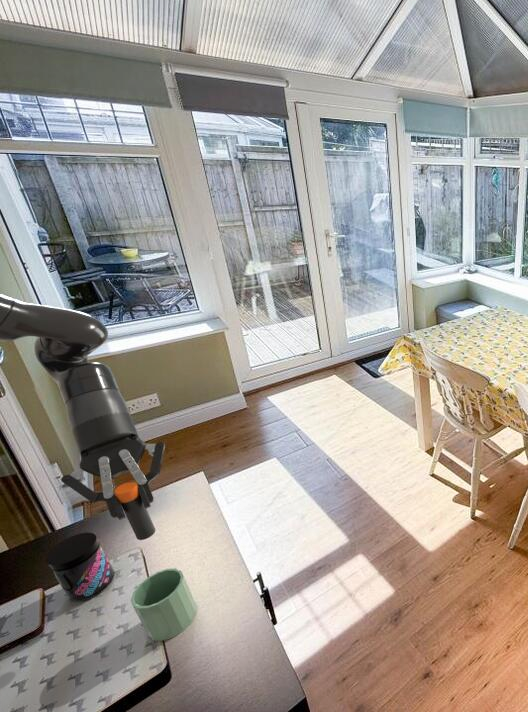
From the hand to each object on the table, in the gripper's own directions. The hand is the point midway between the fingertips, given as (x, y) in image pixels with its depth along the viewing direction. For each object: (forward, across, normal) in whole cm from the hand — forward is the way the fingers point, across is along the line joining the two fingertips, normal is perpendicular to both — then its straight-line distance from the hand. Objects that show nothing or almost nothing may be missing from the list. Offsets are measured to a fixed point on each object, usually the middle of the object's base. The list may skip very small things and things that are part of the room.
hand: (135, 512), depth 69 cm
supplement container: (+6, -10, +24) cm, 27 cm away
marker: (+4, 0, +6) cm, 7 cm away
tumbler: (+19, -1, +11) cm, 22 cm away
